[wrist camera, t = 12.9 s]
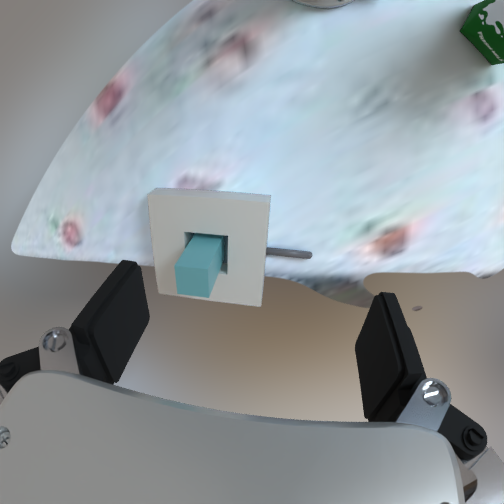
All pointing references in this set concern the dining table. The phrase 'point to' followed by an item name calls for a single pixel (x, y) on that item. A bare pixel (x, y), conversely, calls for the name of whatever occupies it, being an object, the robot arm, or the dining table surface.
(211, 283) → the plug
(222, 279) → the white square-hole board
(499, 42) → the milk carton
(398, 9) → the dining table surface
